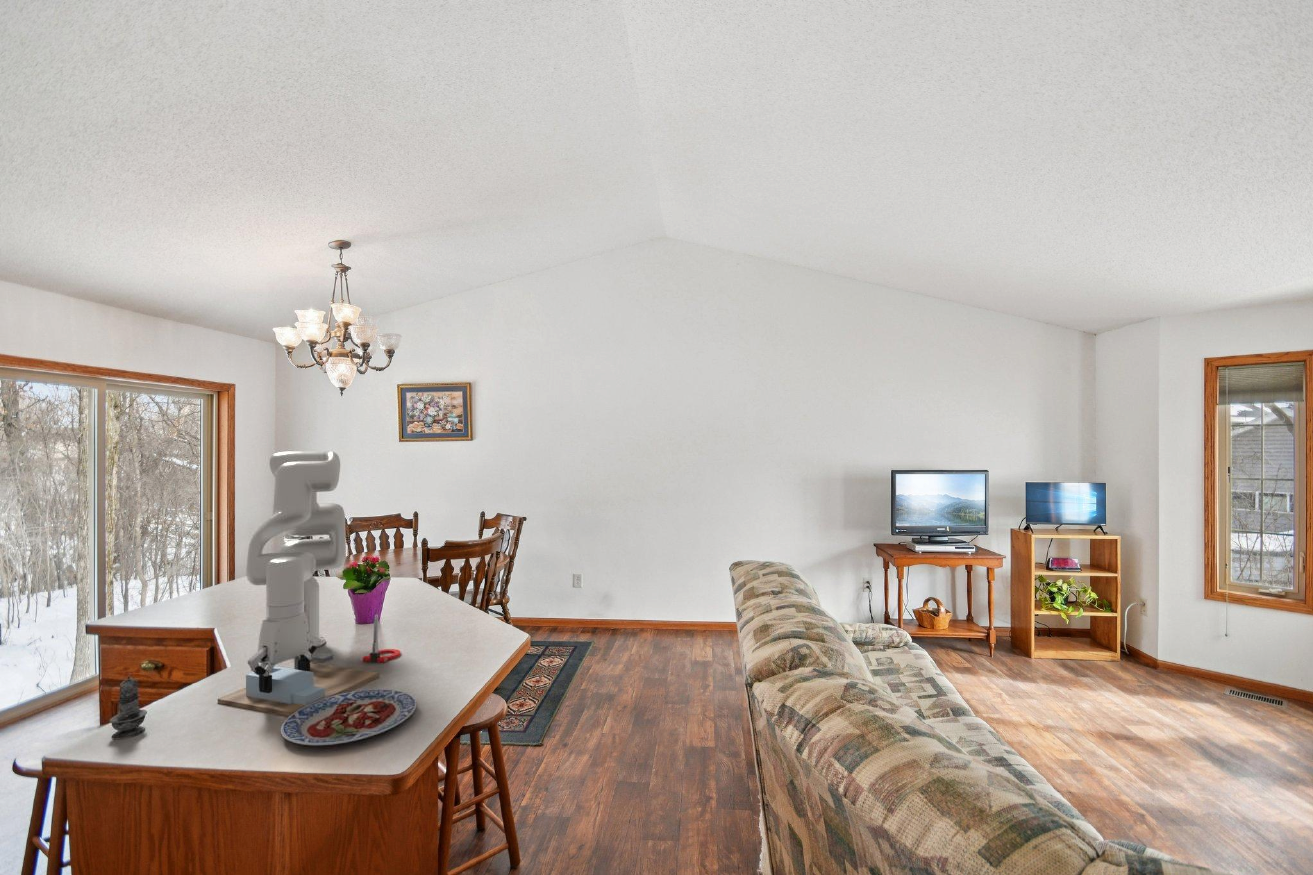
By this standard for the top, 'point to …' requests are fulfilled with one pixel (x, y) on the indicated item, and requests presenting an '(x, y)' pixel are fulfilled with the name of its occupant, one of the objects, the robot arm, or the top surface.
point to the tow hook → (376, 653)
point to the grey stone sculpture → (128, 711)
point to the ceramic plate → (348, 717)
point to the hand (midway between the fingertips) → (285, 683)
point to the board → (324, 676)
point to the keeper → (315, 658)
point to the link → (286, 686)
